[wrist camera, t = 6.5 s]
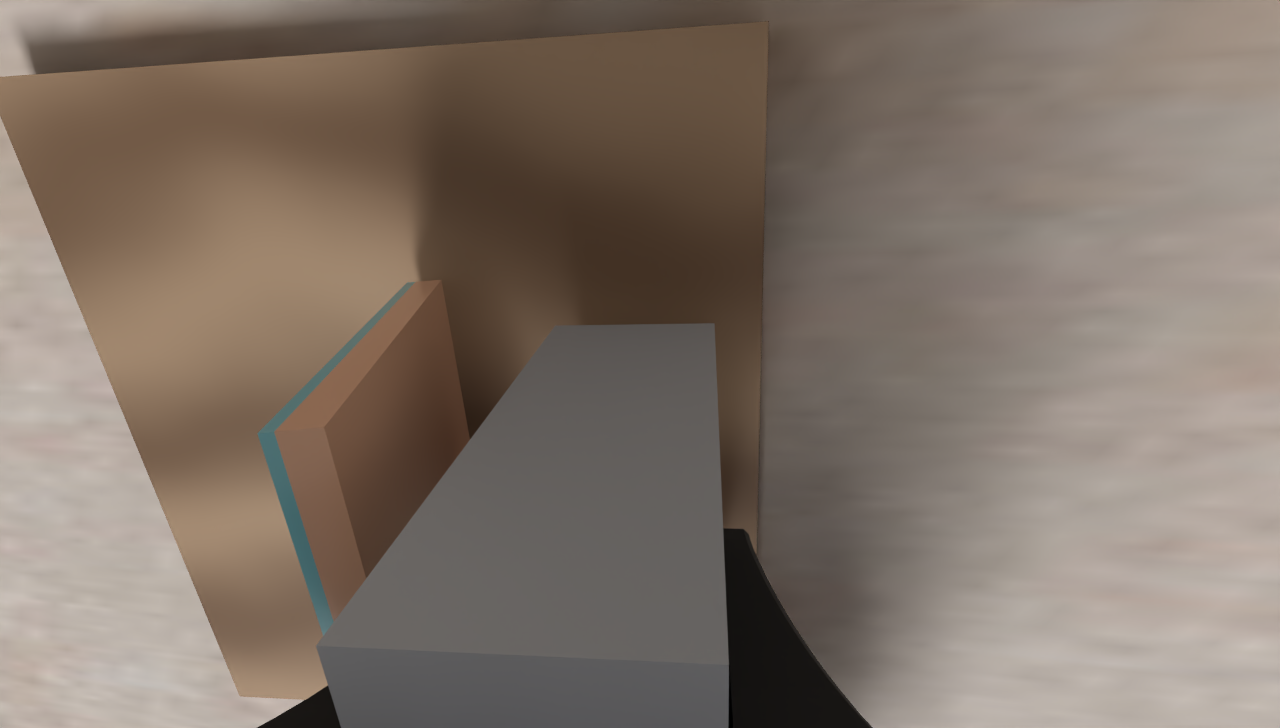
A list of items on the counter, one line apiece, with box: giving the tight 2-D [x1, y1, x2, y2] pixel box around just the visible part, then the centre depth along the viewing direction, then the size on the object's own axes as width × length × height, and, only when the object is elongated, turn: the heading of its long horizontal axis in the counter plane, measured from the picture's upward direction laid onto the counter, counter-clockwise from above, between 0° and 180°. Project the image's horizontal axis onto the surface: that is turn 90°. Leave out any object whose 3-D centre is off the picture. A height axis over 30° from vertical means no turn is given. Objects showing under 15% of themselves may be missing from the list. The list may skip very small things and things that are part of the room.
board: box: [0, 21, 769, 700], centre depth 18 cm, size 20×18×1 cm
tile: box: [257, 280, 470, 636], centre depth 13 cm, size 10×8×1 cm
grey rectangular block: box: [316, 323, 729, 728], centre depth 11 cm, size 8×4×9 cm, turn 3°
